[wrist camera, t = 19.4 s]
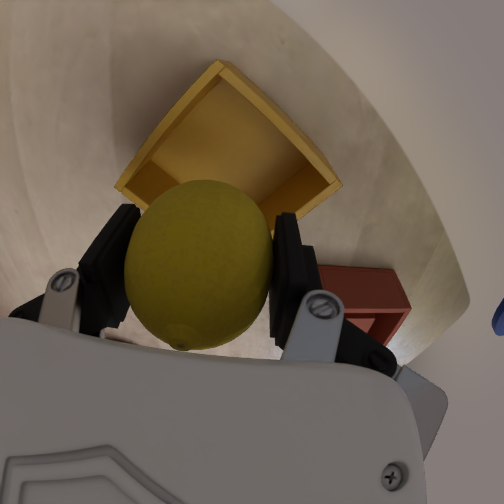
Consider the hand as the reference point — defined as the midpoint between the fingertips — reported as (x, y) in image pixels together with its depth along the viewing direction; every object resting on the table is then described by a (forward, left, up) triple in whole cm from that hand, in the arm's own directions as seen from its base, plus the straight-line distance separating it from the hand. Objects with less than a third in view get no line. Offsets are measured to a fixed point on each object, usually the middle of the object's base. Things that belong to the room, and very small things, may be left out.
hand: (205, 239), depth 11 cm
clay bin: (-13, +15, -11) cm, 23 cm away
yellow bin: (0, 0, -11) cm, 11 cm away
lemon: (0, 0, -3) cm, 3 cm away
